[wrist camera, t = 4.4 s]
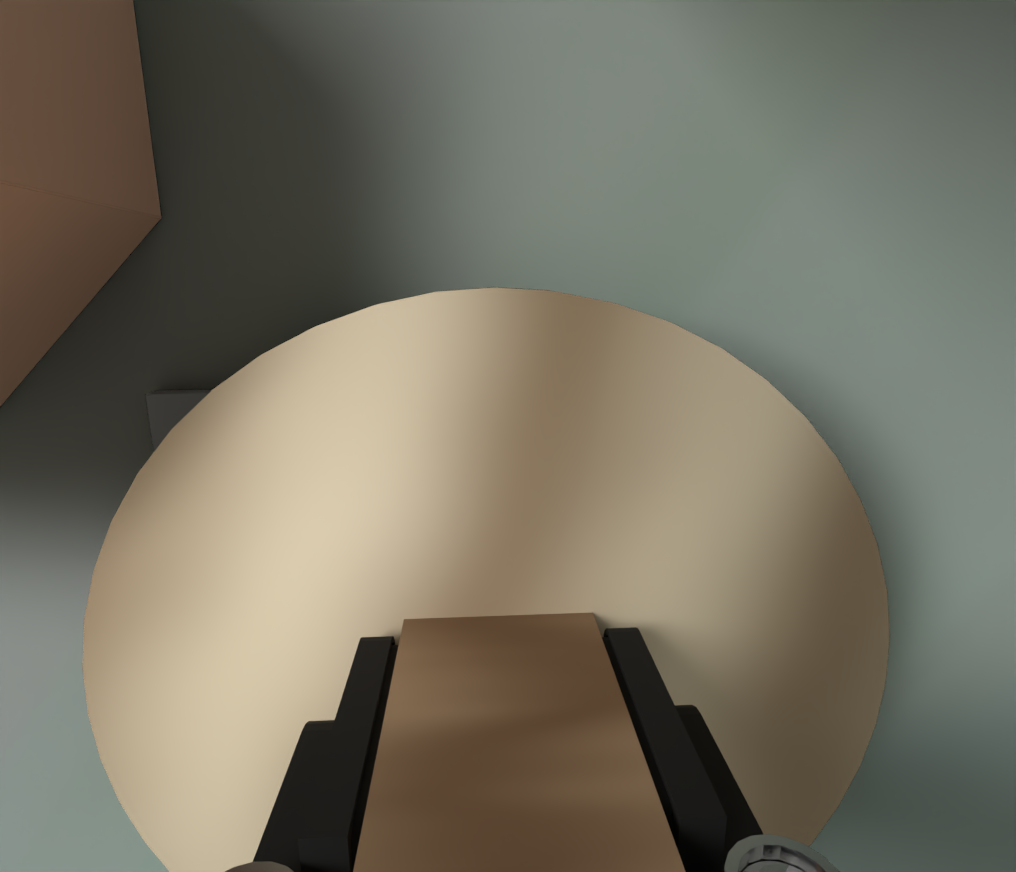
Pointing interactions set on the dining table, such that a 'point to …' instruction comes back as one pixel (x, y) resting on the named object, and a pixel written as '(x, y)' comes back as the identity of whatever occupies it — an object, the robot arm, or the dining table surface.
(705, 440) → the lid
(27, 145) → the bowl
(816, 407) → the dining table surface
